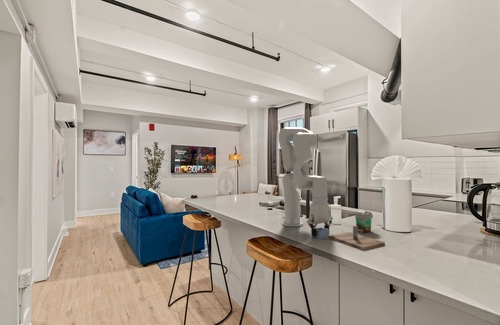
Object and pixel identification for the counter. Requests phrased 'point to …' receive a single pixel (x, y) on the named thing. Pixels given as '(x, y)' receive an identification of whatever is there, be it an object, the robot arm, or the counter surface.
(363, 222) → the food container
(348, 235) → the shaft stand
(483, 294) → the counter surface
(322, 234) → the collar
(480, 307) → the counter surface
